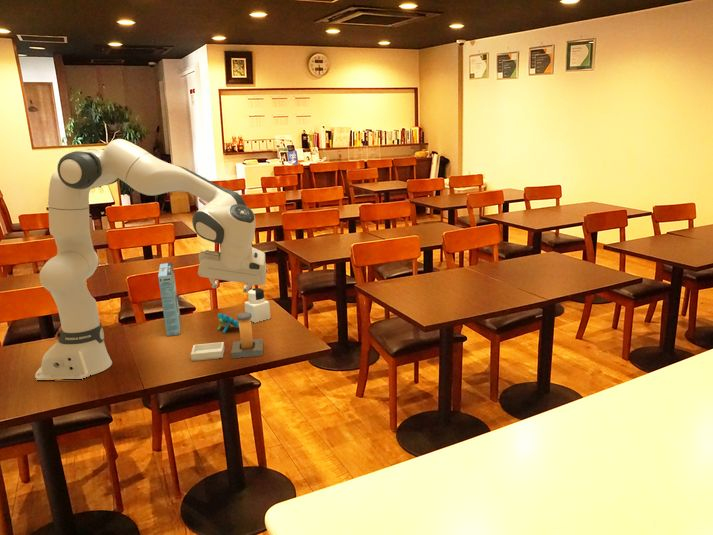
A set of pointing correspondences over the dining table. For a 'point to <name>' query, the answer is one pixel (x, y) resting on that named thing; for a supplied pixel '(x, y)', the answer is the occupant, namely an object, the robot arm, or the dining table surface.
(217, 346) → the tray
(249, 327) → the pin
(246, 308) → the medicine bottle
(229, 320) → the teal toy dinosaur
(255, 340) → the grey peg base
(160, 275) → the gum box
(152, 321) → the dining table surface
